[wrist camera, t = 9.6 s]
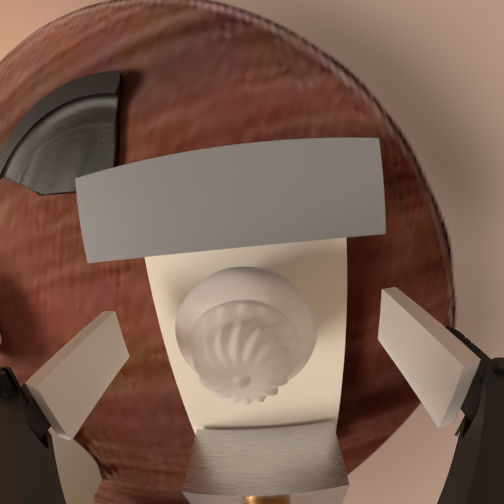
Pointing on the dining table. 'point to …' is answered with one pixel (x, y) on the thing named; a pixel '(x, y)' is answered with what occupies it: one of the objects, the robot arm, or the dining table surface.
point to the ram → (267, 466)
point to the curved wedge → (66, 136)
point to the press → (244, 247)
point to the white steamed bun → (245, 333)
